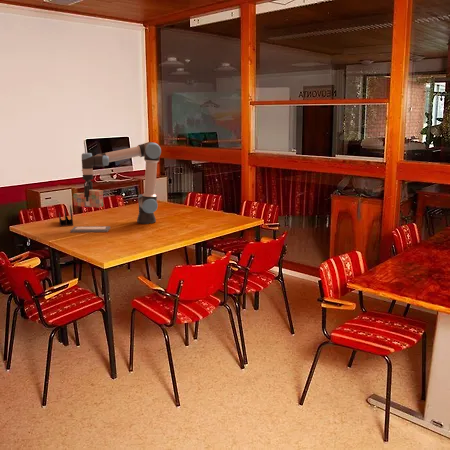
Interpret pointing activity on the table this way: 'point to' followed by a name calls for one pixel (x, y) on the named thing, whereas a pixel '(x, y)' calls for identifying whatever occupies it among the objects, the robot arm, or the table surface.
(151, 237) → the table surface
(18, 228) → the table surface
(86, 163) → the robot arm
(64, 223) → the letter holder
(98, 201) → the stack of blocks
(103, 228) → the base board
